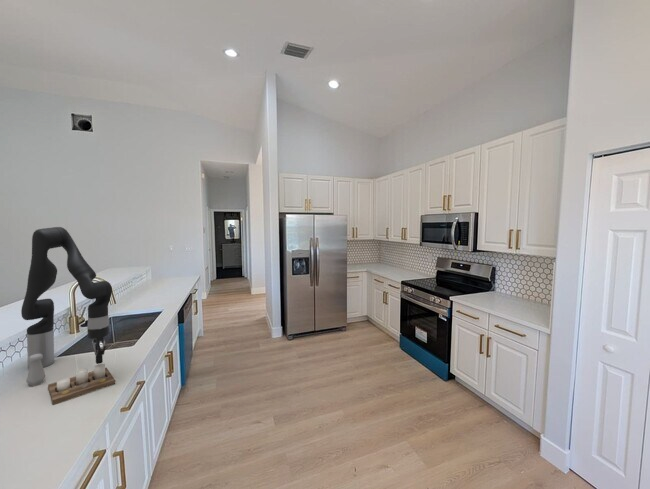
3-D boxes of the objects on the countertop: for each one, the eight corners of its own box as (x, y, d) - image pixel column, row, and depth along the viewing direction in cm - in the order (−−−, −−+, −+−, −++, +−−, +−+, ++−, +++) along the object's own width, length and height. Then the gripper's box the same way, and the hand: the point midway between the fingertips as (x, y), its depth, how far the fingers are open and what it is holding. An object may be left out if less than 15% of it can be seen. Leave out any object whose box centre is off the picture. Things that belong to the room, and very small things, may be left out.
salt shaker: (33, 388, 118) (32, 358, 117) (23, 386, 119) (22, 357, 118) (49, 380, 123) (48, 352, 123) (39, 379, 125) (38, 351, 124)
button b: (75, 381, 120) (75, 370, 119) (87, 378, 123) (87, 367, 122) (77, 385, 117) (76, 374, 117) (89, 381, 120) (88, 370, 120)
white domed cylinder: (56, 392, 115) (56, 380, 115) (69, 388, 118) (69, 376, 118) (57, 396, 113) (57, 384, 112) (70, 391, 116) (70, 380, 115)
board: (48, 388, 117) (48, 383, 117) (106, 371, 133) (106, 366, 133) (52, 405, 107) (52, 399, 107) (115, 383, 122) (115, 378, 122)
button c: (93, 376, 124) (92, 365, 124) (104, 373, 127) (103, 362, 127) (94, 379, 122) (94, 368, 121) (106, 376, 125) (106, 365, 124)
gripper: (84, 324, 124) (85, 361, 125) (90, 331, 116) (91, 371, 117) (105, 320, 130) (106, 355, 131) (112, 327, 122) (113, 364, 122)
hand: (99, 362), depth 124 cm, fingers closed
